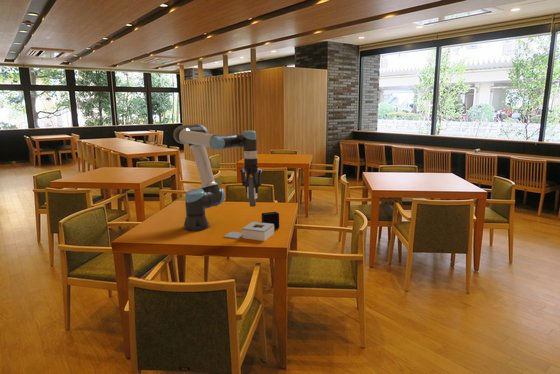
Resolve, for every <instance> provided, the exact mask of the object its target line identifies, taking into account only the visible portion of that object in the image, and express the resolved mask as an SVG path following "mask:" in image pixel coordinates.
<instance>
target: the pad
mask: <svg viewBox="0 0 560 374" xmlns="http://www.w3.org/2000/svg"><path fill="white" fill-rule="evenodd" d="M223 237H224V238H226V239H233V240H234V239H235V240H239V239H240V238H242V232H238V231H230V232H228V233H227V234H225V235H224V236H223Z"/></svg>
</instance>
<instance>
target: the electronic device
mask: <svg viewBox="0 0 560 374" xmlns="http://www.w3.org/2000/svg"><path fill="white" fill-rule="evenodd" d="M261 223H270V224H274V230H278V229H280V213H279V212H278V211H269V212H262V213H261Z"/></svg>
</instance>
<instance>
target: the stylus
mask: <svg viewBox="0 0 560 374" xmlns="http://www.w3.org/2000/svg"><path fill="white" fill-rule="evenodd" d="M248 181H249V200H248V201H249V207H253V208H254V207H257V201H256V200H257V198H256V199H254V188H255V185H254V180H253V176H250V177H248Z"/></svg>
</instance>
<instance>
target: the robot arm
mask: <svg viewBox="0 0 560 374" xmlns="http://www.w3.org/2000/svg"><path fill="white" fill-rule="evenodd" d="M172 135H173V138H174V140H175V142H176V143H179V144H181V145H188V147H189V149H191V150H192V153H193V158H194V161H195V165H196V168H197V172H198V176H199V181H200V183H201V186H200V188H196V189H194V188H193V189H189V190H188V191H186V192H185V194H184V203H185V219H184V223H183V229H184V230H186V231H190V232H196V231H198V232H199V231H203V230H206V229H208V228H209V227H210V226H209V224H210V222H209V221H208V218H207V216H206V209H210V208H213V207H218V206H220V205H221V204H223V202H224V201H225V196H226V195H225V190H224V189H223V188H222V187H220V186H219V183H217V182H216V180H215V177H214V173H213V170H212V165H211V162H210V159H209V154H208V151H207V148H211V149H212V150H213V151H214V150H217V151H219V150H226V149H233V148H235V149H236V148H243V158H244V159H243V162H244V166H243V168H241V169H239V172H240V175H241V183H242V187H245V193H246V196H247V199H249V181H248V177H253V180H254V185H255V188H254V199H256V200H257V199H258V193H259V188H260V187H262V179H263V178H262V177H263V175H262V173H263V169H261V168H259V167H258V148H257V147H258V145H257V132H256V131H255V130H243V131H242V133H240V134H239V133H231V134H226V135H224V134H222V135H220V134H213V133H209V130H208V129H207V127H205V125H202V124H197V123H196V124H185V125H184V124H183V125H179V126H177V127H176V128H175V129H174V131H173V134H172ZM245 172H246V173H245Z"/></svg>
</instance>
